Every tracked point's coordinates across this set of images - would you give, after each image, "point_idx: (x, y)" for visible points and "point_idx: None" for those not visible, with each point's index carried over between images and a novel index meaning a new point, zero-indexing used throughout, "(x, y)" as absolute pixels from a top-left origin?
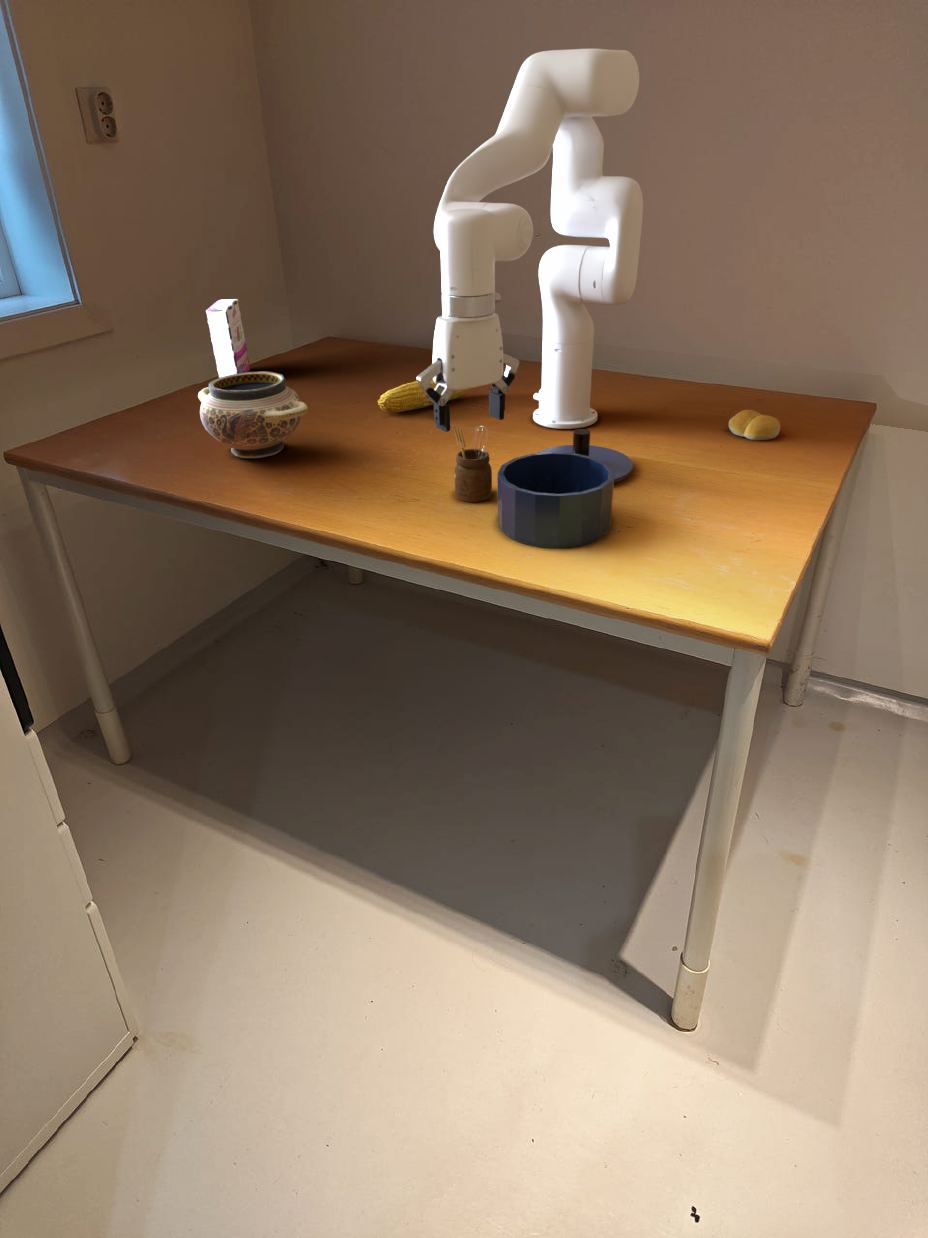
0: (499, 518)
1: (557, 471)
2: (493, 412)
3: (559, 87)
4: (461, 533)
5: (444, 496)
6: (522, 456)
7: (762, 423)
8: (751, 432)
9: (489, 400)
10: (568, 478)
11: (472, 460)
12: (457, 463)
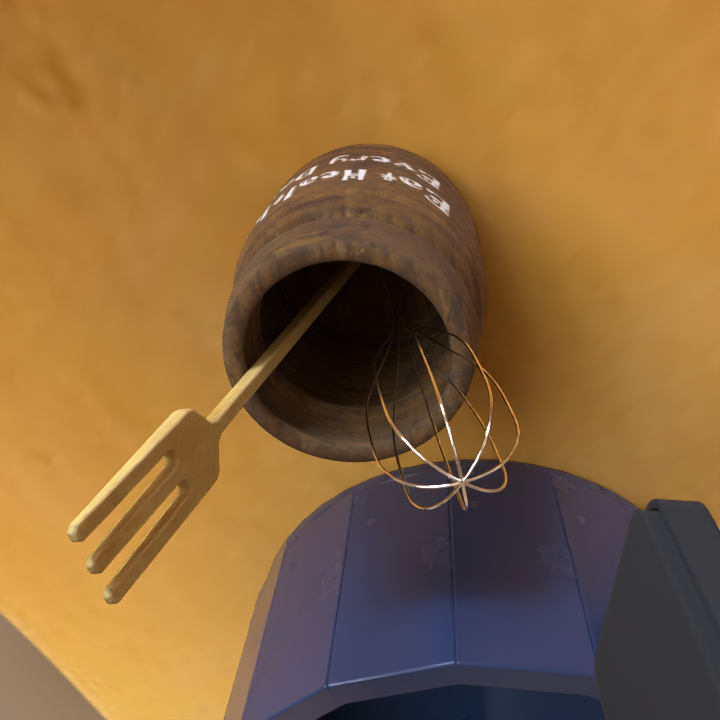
0: (269, 582)
1: None
2: (629, 620)
3: None
4: (124, 505)
5: (230, 146)
6: (518, 676)
7: None
8: None
9: (705, 676)
10: None
11: (282, 440)
12: (271, 240)
